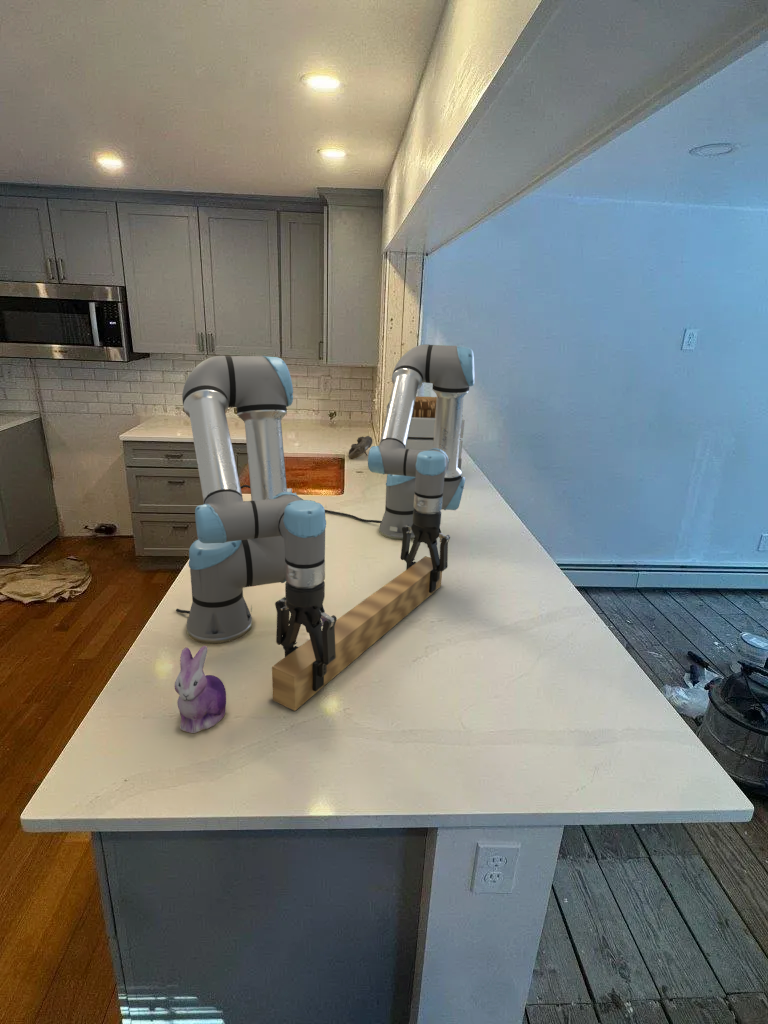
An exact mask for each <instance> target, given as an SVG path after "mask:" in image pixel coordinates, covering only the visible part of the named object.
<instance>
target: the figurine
mask: <svg viewBox="0 0 768 1024" xmlns="http://www.w3.org/2000/svg"><path fill="white" fill-rule="evenodd" d="M207 655H208V647H207V646H206V645H203V646H201V647H200V648H199V650H198V651H197V652H196V654H195V655H194V656H193V654H192V652H191V649H190V648H189V647H183V649H182V650H181V653H180V656H179V661H180V662H179V667H180V671H179V672H178V674H177V676H176V679H175V681H174V690H175V692H176V693H177V694H178V695H179V696H178V698H177V703H176V704H177V705H176V706H177V708H178V709H177V710H178V711H179V714H180V717H181V718H180V719H181V720H180V724H179V727H180V728H179V729H180V730H181V731H184V732H187V733H190V734H196V733H199V732H200V731H202V730H208V729H211V728H212V727H214V726H215V725H216V724H218V723H220V721H221V720H223V718H225V715H226V711H227V709H226V708H227V691H226V687H225V684H224V682H223V681H222V679H220V677H218V676H216V675H212V674H207V675H206V674H205V672H204V666H205V664H206V660H207Z"/></svg>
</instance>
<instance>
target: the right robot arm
mask: <svg viewBox="0 0 768 1024" xmlns="http://www.w3.org/2000/svg"><path fill="white" fill-rule="evenodd" d="M475 379H476V378H475V355H474V350H473V349H472V348H471V347H469V346H461V345H446V344H445V345H444V344H443V345H441V344H424V343H423V344H419V345H417V346H413V347H412V348H411V349H409V350H408V351H406V352H405V353H404V354H403V355H402V356H401V357H400V358H399V360H398V361H397V362H396V365H394V368H393V371H392V375H391V382H392V384H393V385H392V389H391V394H390V398H389V401H390V402H388V403H389V406H388V410H387V409H386V412H387V414H386V413H385V414H386V415H385V419H384V423H383V427H382V432H381V436H380V440H379V444H378V445H371V446H370V447H369V448H370V449H369V451H368V454H367V468H368V470H369V471H370V472H371V473H375V474H381V475H386V482H385V504H384V505H385V507H384V508H385V509H384V513H383V515H382V519H381V520H379V519H365V518H361V517H359V516H356V515H353V514H350V513H345V512H340V511H334V510H331V509H329V510H328V509H325V513H327V514H334V515H339V516H344V517H348V518H352V519H355V520H357V521H359V522H364V523H375V524H379V526H378V533H379V534H380V535H381V536H382V537H385V538H387V539H389V540H395V541H402V542H401V550H400V557H399V558H400V560H401V561H404V562H405V564H406V568H405V570H407V569H408V568H409V567H411V566H412V565H414V564H415V563H416V562H417V561H415V559H416V556H417V554H418V551H419V548H420V546H421V543H423V544H425V545H426V546H427V549H428V552H429V557H430V558H431V561H432V566H433V570H431V572H430V585H429V593H432V592H433V591H435V590H436V582H437V581H439V579H440V571H441V572H442V573H443V572H444V571H445V570H446V569H447V568H448V561H449V560H448V559H449V558H448V557H449V542H450V540H451V535H450V534H447V535H446V534H444V533H442V530H441V524H442V523H441V522H442V510H443V511H456V510H458V509H459V508H460V504H461V501H462V498H463V497H462V496H463V493H464V492H463V491H464V486H465V483H466V477H465V476H462V475H463V474H462V469H461V470H460V469H459V468H458V457H459V445H460V439H461V438H460V433H461V422H462V419H463V408H464V398H465V396H466V395H467V394H468V393H469V392H470V387H474V386H475ZM424 383H425V384H432V386H431V387H432V388H431V389H432V391H433V393H435V395H436V397H437V398H436V413H435V428H434V443H433V449H430V450H428V451H424V450H412V449H406V444H407V439H408V434H409V429H410V424H411V420H412V415H413V410H414V405H415V400H416V397H417V394H418V390H420V388H422V385H423V384H424ZM240 487H241V489H244V488H248V489H250V484H249V485H248V484H243V485H240ZM438 538H439V543H440V544H439V549H438ZM411 540H413V541H412V545H411ZM436 591H437V590H436ZM436 591H435V592H436ZM432 594H433V593H432Z"/></svg>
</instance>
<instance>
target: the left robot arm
mask: <svg viewBox="0 0 768 1024" xmlns="http://www.w3.org/2000/svg"><path fill="white" fill-rule="evenodd" d="M288 367H289V366H288V365H287V363H286V362H285V361H284V359H282V358H281V357H278V356H266V355H230V356H229V355H216V356H211V357H209V358H207V359H204V360H203V361H201V362H200V363H199V364H197V365H196V366H195V367H194V368H193V370H192V371H191V372H190V373H189V375H188V376H187V378H186V380H185V383H184V385H183V389H182V393H181V394H182V395H181V397H182V398H181V399H182V408H183V411H184V413H185V415H186V416H187V417H188V418H189V421H190V427H191V432H192V433H191V434H192V439H193V446H194V449H195V450H194V452H195V457H196V458H195V459H196V464H197V470H198V471H197V472H198V477H199V484H200V489H201V495H202V502H203V504H199V505H197V506H195V510H194V515H195V516H194V519H195V528H196V534H197V535H196V536H197V539H196V540H194V541H193V542H192V543H191V545H190V547H189V549H188V567H189V571H190V586H191V599H192V600H191V601H192V602H191V606H190V610H188V609H187V610H185V609H179V608H176V609H175V611H176V612H177V613H181V614H188V617H187V619H186V625H185V626H186V634H187V636H188V638H190V639H191V640H193V641H195V642H197V643H201V644H206V645H220V644H227V643H231V642H234V641H237V640H239V639H241V638H243V637H245V636H246V635H247V634H248V633H249V632H250V631H251V630H252V626H253V618H252V611H253V605H251V606H250V609H249V607H248V604H247V602H246V600H245V598H244V588H250V587H257V586H265V585H272V584H279V583H280V584H283V583H284V584H285V585H284V586H285V587H284V588H285V590H284V591H285V596H284V597H282V598H280V599H279V600H277V601H275V602H274V606H275V610H276V631H275V632H276V634H275V636H276V637H275V642H276V644H277V645H278V646H282V648H283V650H284V658H285V657H286V656H287V655H289V654H290V653H291V652H293V651H294V650H296V649H297V648H298V647H299V646H297V645H296V644H298V641H297V639H298V635H299V632H300V629H301V626H304V627H305V632H306V633H307V634H308V635H309V640H310V639H311V643H312V647H313V651H314V655H315V659H316V661H315V662H313V691H315V692H316V691H317V690H318V689H319V688H321V687H322V686H323V685H324V675H325V674H326V673H327V665H328V664H329V663H330V662H332V661H333V660H334V659H335V658H336V652H335V627H334V626H335V623H336V620H337V619H338V618H337V616H336V615H334V614H333V615H331V616H330V615H329V614H327V613H326V610H325V608H324V600H325V595H326V594H325V591H326V585H325V583H326V582H325V579H326V528H327V520H326V512H325V510H326V509H325V507H324V506H323V504H321V503H320V502H317V501H315V500H309V499H303V498H301V497H300V496H299V495H297V493H296V494H294V493H295V492H292V493H291V492H287V488H288V487H287V474H286V463H285V449H284V439H283V427H282V420H283V418H284V417H285V416H286V415H287V414H288V410H287V407H290V406H291V405H293V401H294V388H293V387H294V386H293V383H292V382H293V381H292V377H291V373H290V370H289V368H288ZM229 408H236V415H237V417H238V418H239V419H240V420H242V421H243V423H244V429H245V430H244V431H245V442H246V443H245V444H246V453H247V464H248V465H247V466H248V476H249V486H250V488H249V489H250V499H251V500H244V499H243V493H242V488H241V483H240V477H239V474H238V473H239V472H238V468H237V463H236V462H237V461H236V458H235V453H234V447H233V443H232V437H231V433H230V429H229V424H228V419H227V415H226V414H227V412H228V410H229ZM322 688H323V687H322ZM322 688H321V689H322Z"/></svg>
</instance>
